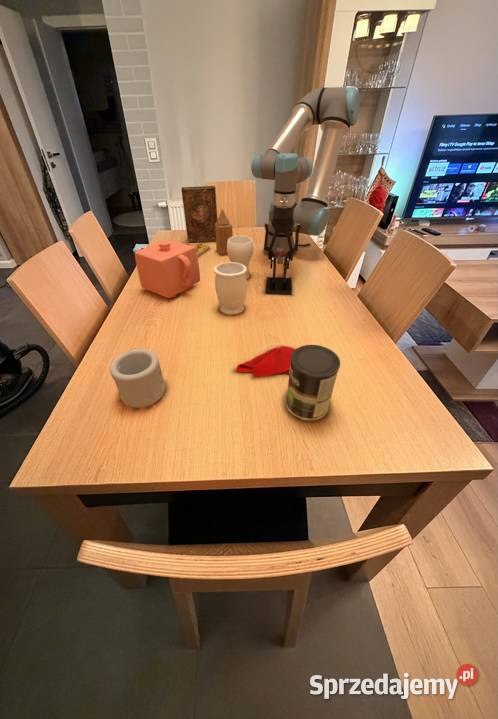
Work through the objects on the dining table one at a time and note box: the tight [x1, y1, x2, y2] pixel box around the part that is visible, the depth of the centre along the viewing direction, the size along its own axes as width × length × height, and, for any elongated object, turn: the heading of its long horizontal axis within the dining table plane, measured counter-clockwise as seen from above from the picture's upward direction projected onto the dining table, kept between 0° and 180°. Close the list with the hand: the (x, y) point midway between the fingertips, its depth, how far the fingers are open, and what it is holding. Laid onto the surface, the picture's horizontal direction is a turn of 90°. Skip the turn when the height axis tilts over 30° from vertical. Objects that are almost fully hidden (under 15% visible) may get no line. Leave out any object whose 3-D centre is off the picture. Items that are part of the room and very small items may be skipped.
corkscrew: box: [273, 252, 288, 265], centre depth 115 cm, size 11×6×2 cm, turn 175°
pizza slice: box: [185, 242, 210, 258], centre depth 143 cm, size 16×21×3 cm
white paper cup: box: [213, 261, 248, 315], centre depth 101 cm, size 11×10×15 cm
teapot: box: [134, 239, 201, 299], centre depth 114 cm, size 25×23×18 cm
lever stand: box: [264, 253, 293, 296], centre depth 114 cm, size 12×10×13 cm
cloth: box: [235, 345, 296, 378], centre depth 83 cm, size 26×14×2 cm, turn 84°
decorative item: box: [215, 207, 234, 256], centre depth 140 cm, size 7×7×20 cm
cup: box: [226, 235, 254, 280], centre depth 121 cm, size 11×11×15 cm
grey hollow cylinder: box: [109, 348, 166, 409], centre depth 73 cm, size 14×11×10 cm
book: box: [180, 185, 218, 244], centre depth 152 cm, size 16×6×25 cm, turn 102°
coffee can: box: [285, 344, 341, 422], centre depth 67 cm, size 10×10×14 cm
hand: (279, 267), depth 122 cm, fingers closed on corkscrew, 6 cm apart
